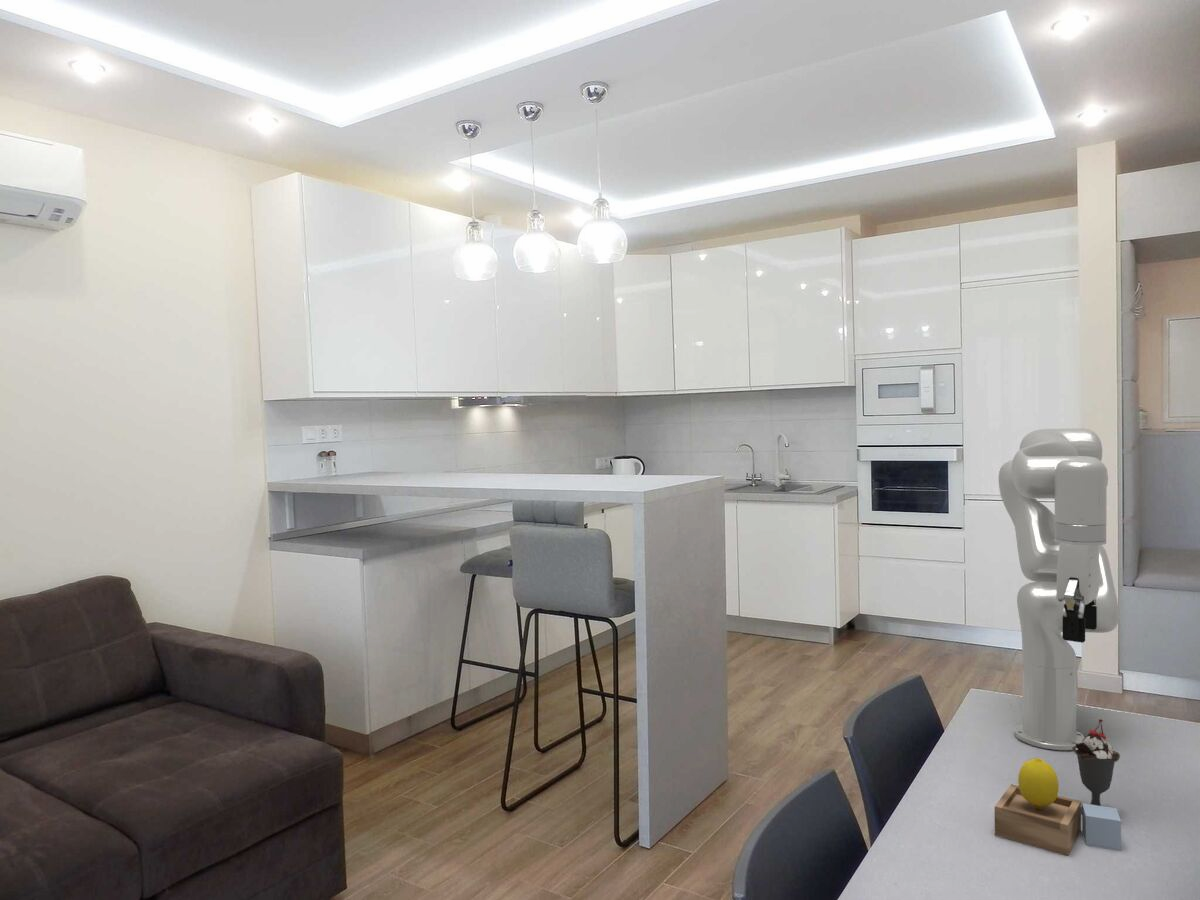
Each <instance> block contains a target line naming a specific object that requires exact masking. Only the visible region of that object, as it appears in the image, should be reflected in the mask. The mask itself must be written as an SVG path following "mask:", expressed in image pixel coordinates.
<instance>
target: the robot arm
mask: <svg viewBox="0 0 1200 900" xmlns="http://www.w3.org/2000/svg"><path fill="white" fill-rule="evenodd" d="M1102 460H1103V443H1102V441H1101V439H1100V437H1099V436H1098V434H1097V433H1096V432H1095V431H1093V430H1091V429H1089V428H1043V429H1042V428H1041V429H1036V430H1033V431H1030V432H1029V433H1027V434H1026V435H1025V436H1024V437H1023V438H1022V439H1021V442H1020V443H1019V450H1018V451H1016V452H1015V454H1014V456H1013V458H1012V459H1011V460H1008V461H1007V462H1005V463H1003V464H1002V465H1001V466H1000V468H999V472H998V486H999V487H998V488H999V492H1000V497H1001V500H1002V502H1003V506H1004V507H1005V510H1006V512H1007V513H1008V515H1009V517H1010V520H1011V521H1012V524H1013V526H1014V531H1015V539H1016V547H1017V553H1018V559H1019V565H1020V569H1021V572H1022V575H1024V578H1026V579H1027V580H1028V581H1029V580H1030V581H1031V582H1029V583H1026V584H1024V585H1023V586H1021V587H1020V588H1019V590H1018V591H1017V596H1016V604H1017V610H1018V612H1017V613H1018V618H1019V624H1020V631H1021V647H1022V648H1021V652H1022V653H1021V655H1022V658H1021V659H1022V667H1021V668H1022V676H1021V677H1022V723H1020V724H1017V725H1016V726H1015V727H1014V729H1013V731H1014V736H1015V738H1017V739H1018V740H1019V741H1022V742H1023V743H1026V744H1029V745H1030V746H1034V747H1037V748H1041V749H1045V750H1047V749H1048V750H1052V751H1053V750H1055V751H1073V749H1072V748H1073V747H1074V746H1076V745H1075V744H1076V743H1081V741H1082V739H1083V737H1084V736H1085V735H1084V734H1083V733H1081V732H1080V731H1078V730H1077V729H1078V728H1077V727H1078V726H1077V725H1078V724H1077V721H1078V720H1077V719H1078V718H1077V711H1078V710H1077V705H1078V704H1077V701H1078V700H1077V698H1078V697H1077V692H1078V691H1077V684H1078V683H1077V682H1078V681H1077V654H1076V652H1075V649H1074V648H1073V646H1072V645H1071V644H1070V643H1069V642H1075V643H1085V642H1086V633H1095V634H1097V633H1098V634H1099V633H1101V634H1102V633H1103V634H1104V633H1109V632H1112V631H1113V630H1116V628H1117V627H1118V625H1119V621H1120V611H1119V610H1120V607H1119V602H1118V598H1117V593H1116V589H1115V585H1114V579H1113V575H1112V570H1111V566H1110V565H1111V564H1110V561H1109V557H1108V554H1107V550H1106V549H1105V547H1104V546H1105V545H1106V544H1107V487H1108V482H1109V474H1108V469H1107V466H1106V465H1105V463H1103V462H1102ZM1038 499H1052V500H1053V499H1054V513H1053V511H1051V509H1049V508H1048V507H1047V506H1046V505H1044V504H1043V503H1041V502H1040V501H1039V500H1038ZM1103 545H1104V546H1103Z"/></svg>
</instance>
